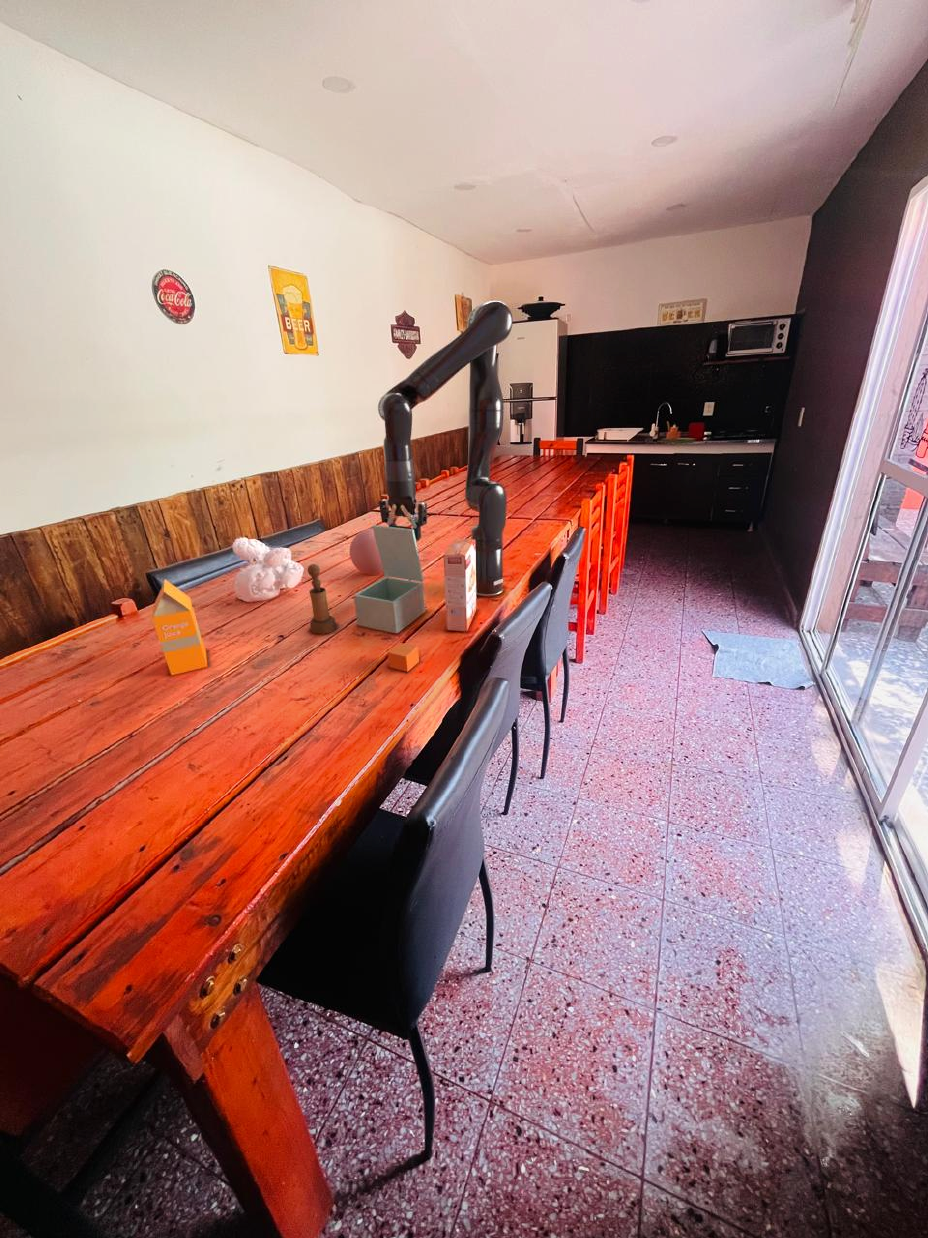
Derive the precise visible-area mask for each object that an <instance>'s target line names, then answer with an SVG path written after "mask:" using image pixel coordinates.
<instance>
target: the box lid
mask: <svg viewBox="0 0 928 1238" xmlns="http://www.w3.org/2000/svg"><path fill="white" fill-rule="evenodd" d="M371 529H373V532H374V536H375V540H376V544H377V548H378V552H379V555H380V559H381V563H382V567H383V571H384V573H383V574H384V577H390V578H396V579H402V580H408V581H415V582H421V583H424V581H425V579H424V574H423V568H422V564H421V559H420V555H419V550H418V544H417V542H416V539H415V534H414V529H413V527H411V526H405V525H397V526H396V525H393V526H392V527H389V526H388V525H387V526H385V525H377V524H373V525H371Z"/></svg>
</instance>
